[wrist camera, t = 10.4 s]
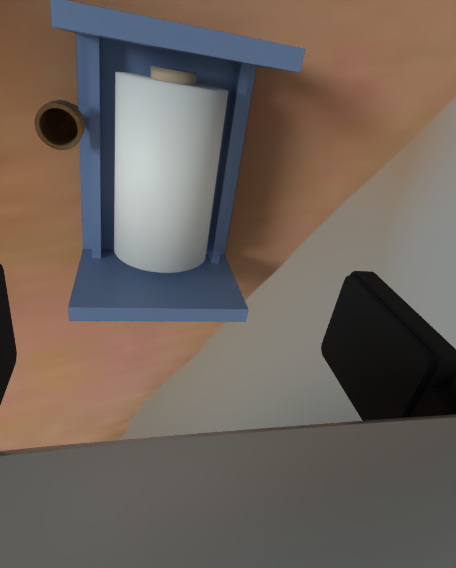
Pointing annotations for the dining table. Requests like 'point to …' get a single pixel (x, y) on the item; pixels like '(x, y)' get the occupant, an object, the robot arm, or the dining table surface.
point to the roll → (165, 167)
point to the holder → (101, 158)
